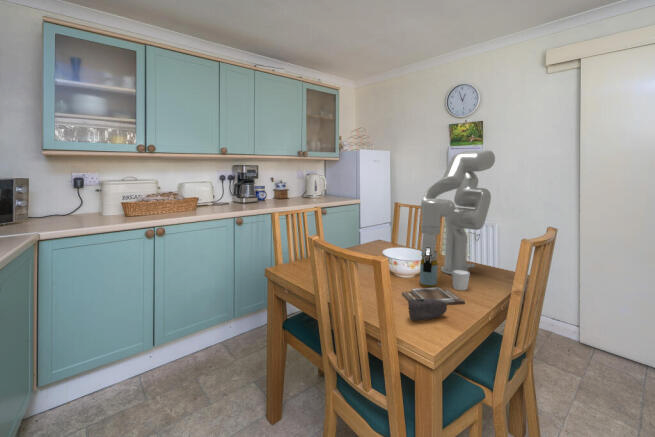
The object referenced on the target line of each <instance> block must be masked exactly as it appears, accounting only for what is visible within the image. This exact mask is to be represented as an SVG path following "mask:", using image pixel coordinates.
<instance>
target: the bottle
mask: <svg viewBox="0 0 655 437" xmlns="http://www.w3.org/2000/svg"><path fill="white" fill-rule="evenodd" d="M424 258H425V255H424V256H423V257H422V256H421V260H420V262H419V264H420V265H419V266H420V267H419V269H420V270H419V284H420V285H421V287H422V288H423V287H424V288H436V287H437V281H438V264H439V262H438V251H436V250H435V253H434V256H433V258H432V259H431V263H432V268H431V273H429V272H423V264H424Z"/></svg>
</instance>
